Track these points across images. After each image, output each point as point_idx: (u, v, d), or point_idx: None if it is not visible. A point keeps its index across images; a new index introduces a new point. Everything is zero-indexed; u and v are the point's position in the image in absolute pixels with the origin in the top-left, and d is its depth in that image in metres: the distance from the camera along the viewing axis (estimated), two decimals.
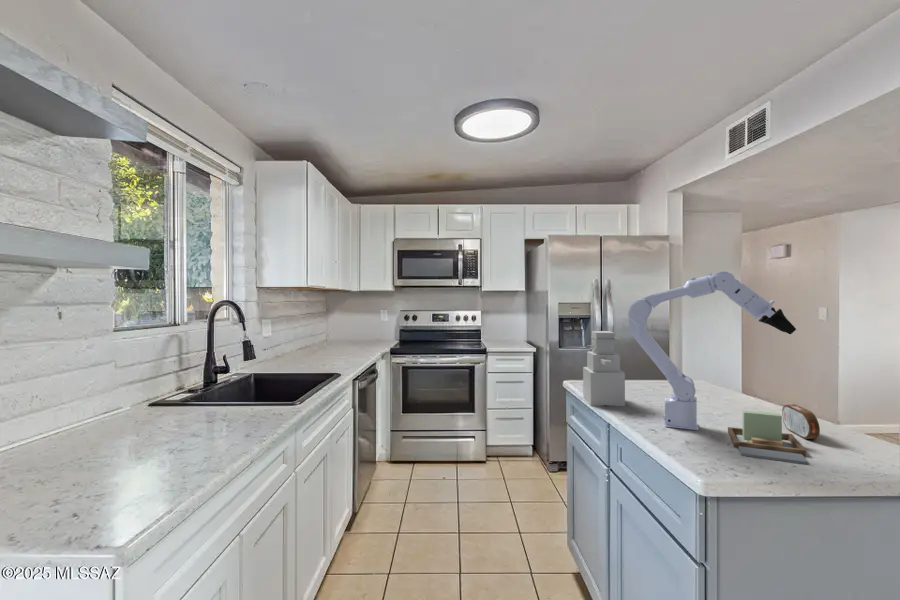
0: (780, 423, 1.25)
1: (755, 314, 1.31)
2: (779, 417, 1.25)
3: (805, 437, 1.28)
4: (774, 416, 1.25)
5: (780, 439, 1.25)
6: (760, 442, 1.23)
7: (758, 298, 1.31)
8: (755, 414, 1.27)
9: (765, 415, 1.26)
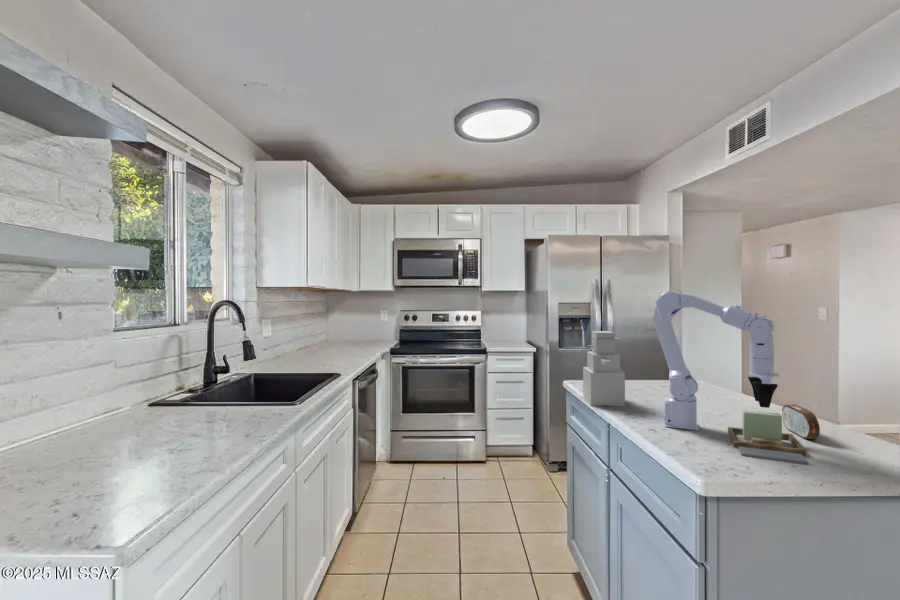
0: (780, 423, 1.25)
1: (753, 371, 1.27)
2: (779, 417, 1.25)
3: (805, 437, 1.28)
4: (774, 416, 1.25)
5: (780, 439, 1.25)
6: (760, 442, 1.23)
7: (771, 363, 1.25)
8: (755, 414, 1.27)
9: (765, 415, 1.26)
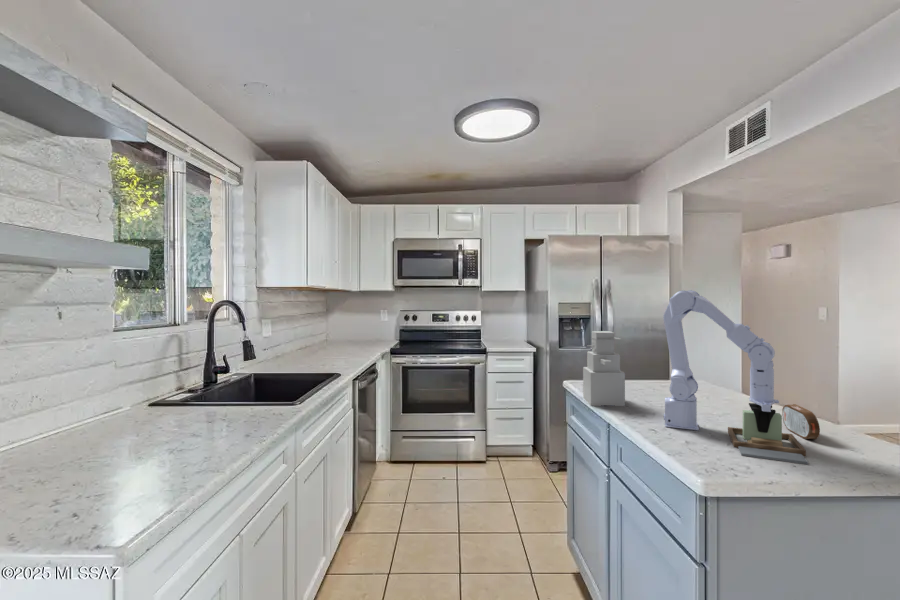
0: (780, 423, 1.25)
1: (753, 397, 1.27)
2: (779, 417, 1.25)
3: (805, 437, 1.28)
4: (774, 416, 1.25)
5: (780, 439, 1.25)
6: (760, 442, 1.23)
7: (770, 390, 1.25)
8: None
9: None
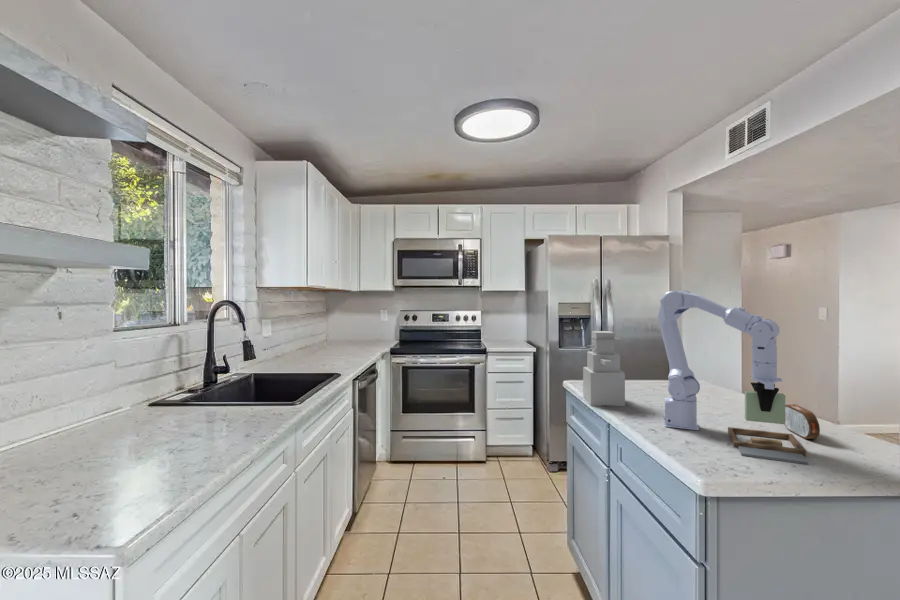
0: (783, 403, 1.21)
1: (756, 376, 1.24)
2: (782, 397, 1.21)
3: (805, 437, 1.28)
4: (777, 396, 1.22)
5: (783, 419, 1.21)
6: (759, 442, 1.23)
7: (773, 367, 1.22)
8: None
9: None
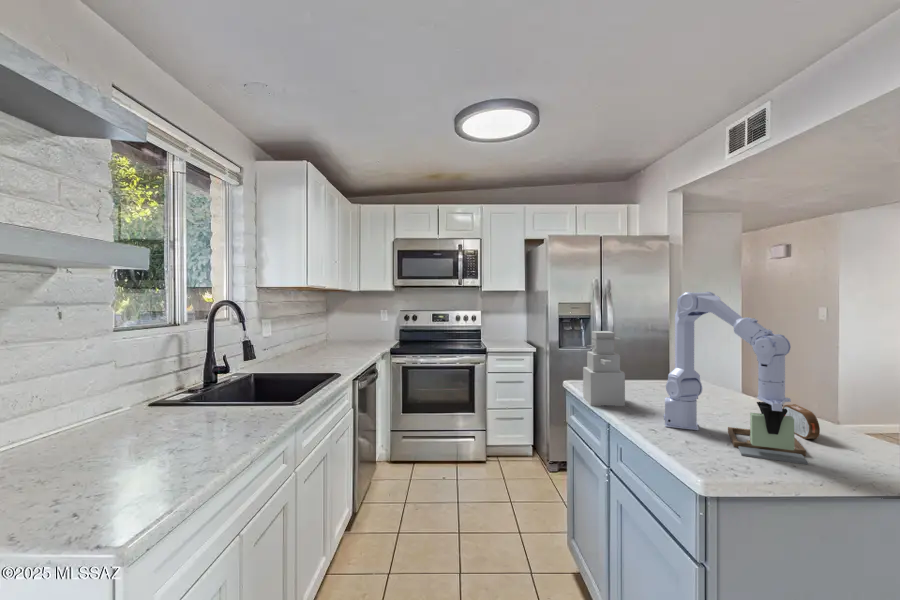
0: (792, 427, 1.12)
1: (762, 395, 1.15)
2: (791, 420, 1.12)
3: (805, 437, 1.28)
4: (786, 419, 1.13)
5: (792, 445, 1.12)
6: None
7: (781, 387, 1.13)
8: (764, 417, 1.15)
9: None
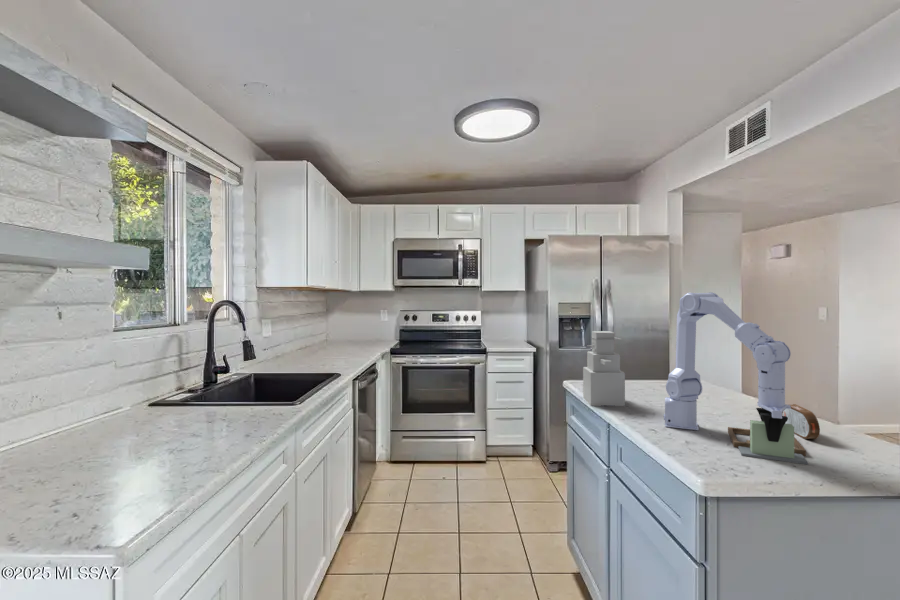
0: (792, 435, 1.12)
1: (762, 402, 1.15)
2: (791, 428, 1.12)
3: (805, 437, 1.28)
4: (786, 427, 1.13)
5: (792, 453, 1.12)
6: None
7: (781, 394, 1.13)
8: (764, 425, 1.15)
9: None
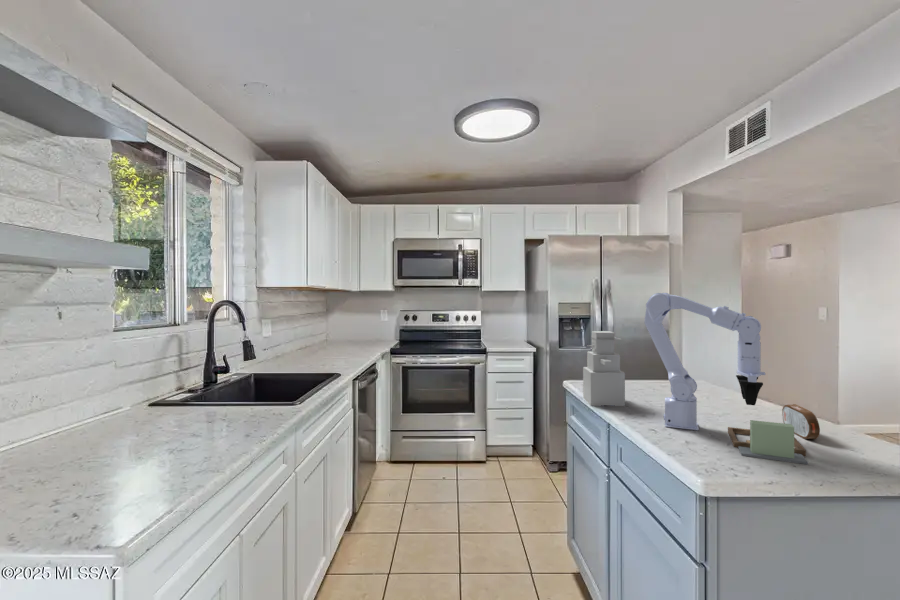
0: (792, 435, 1.12)
1: (740, 370, 1.31)
2: (791, 428, 1.12)
3: (805, 437, 1.28)
4: (786, 427, 1.13)
5: (792, 453, 1.12)
6: None
7: (757, 362, 1.28)
8: (764, 425, 1.15)
9: (775, 426, 1.14)
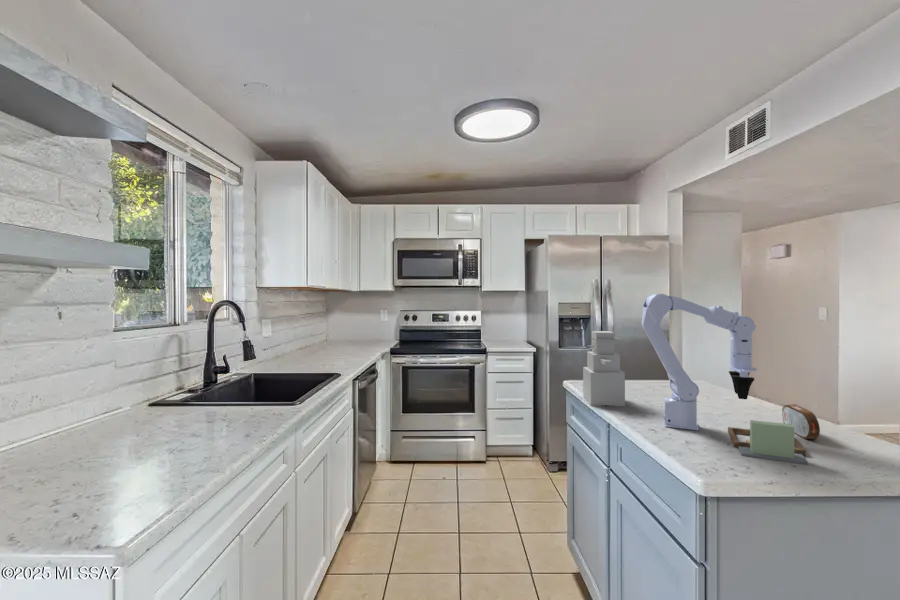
0: (792, 435, 1.12)
1: (733, 366, 1.37)
2: (791, 428, 1.12)
3: (805, 437, 1.28)
4: (786, 427, 1.13)
5: (792, 453, 1.12)
6: None
7: (748, 358, 1.35)
8: (764, 425, 1.15)
9: (775, 426, 1.14)
